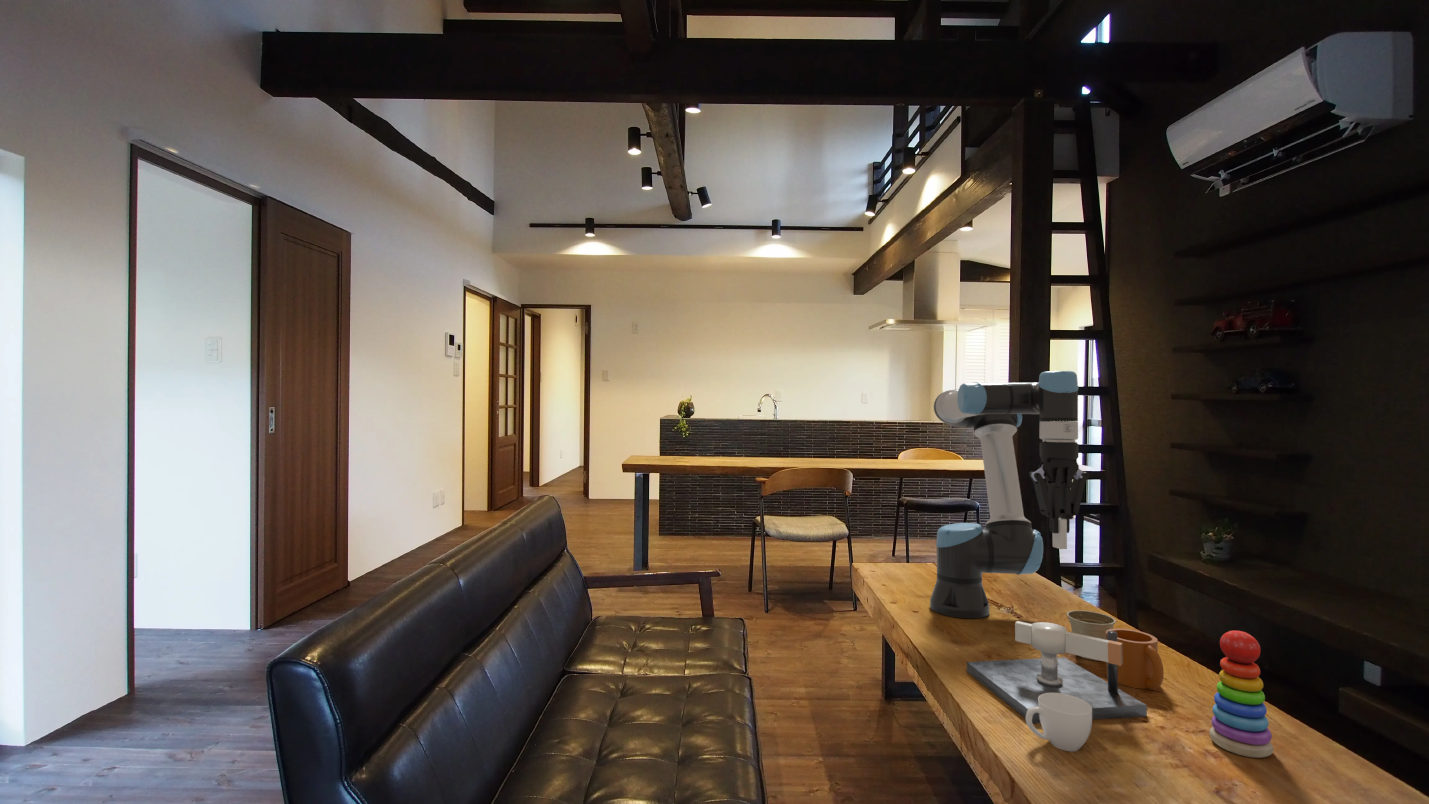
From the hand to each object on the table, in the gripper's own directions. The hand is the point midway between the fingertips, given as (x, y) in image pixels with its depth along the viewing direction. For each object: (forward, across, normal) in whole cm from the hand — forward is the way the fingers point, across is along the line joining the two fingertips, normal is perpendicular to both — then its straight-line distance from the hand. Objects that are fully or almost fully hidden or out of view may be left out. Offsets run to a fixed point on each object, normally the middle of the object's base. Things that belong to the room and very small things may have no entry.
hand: (1059, 547), depth 138 cm
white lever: (+16, -11, -17) cm, 26 cm away
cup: (+25, -24, -33) cm, 48 cm away
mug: (+25, +7, -13) cm, 29 cm away
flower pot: (+25, +8, +1) cm, 26 cm away
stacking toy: (+25, +5, -37) cm, 45 cm away
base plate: (+24, -13, -15) cm, 31 cm away
